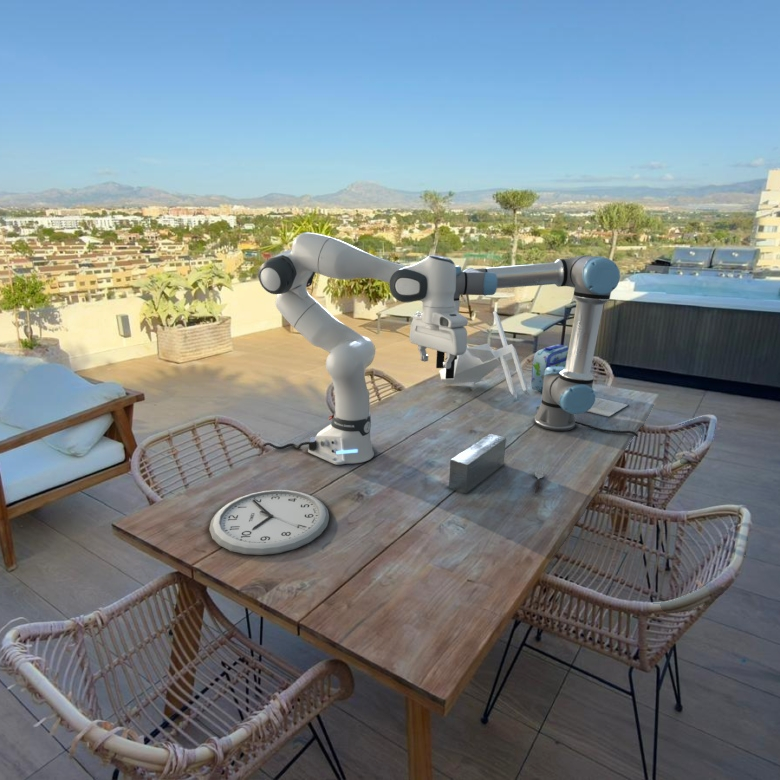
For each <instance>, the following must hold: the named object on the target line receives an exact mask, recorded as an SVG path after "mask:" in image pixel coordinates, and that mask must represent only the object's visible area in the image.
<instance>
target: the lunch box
mask: <svg viewBox="0 0 780 780" xmlns="http://www.w3.org/2000/svg"><path fill="white" fill-rule="evenodd" d="M568 349H569V345H565V344H554V345H550V346H547V347H544V348H542V349H541V348H540V349H539V350H537V351H536V352H535V353H534V356H533V360H532V367H531V368H532V369H531V382H530V383H531V386H530V387H531V389H532V390H533V391H537V392H542V391H543V382H544V374H545V369H546V368H548V367H565V366H566V360H567V354H568Z"/></svg>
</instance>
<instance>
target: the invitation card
mask: <svg viewBox="0 0 780 780" xmlns="http://www.w3.org/2000/svg"><path fill="white" fill-rule="evenodd" d="M628 406H629V404H627V403H623V402H618V401H614V400H609V399H605V398H601V397H596V396H595V402H594V404H593V406H592V407H591V408H590V409H589V410H587V411H586V412H587V413H593V414H596V415H600V416H604V417H608V418H609V417H611V416H613V415H614V414H616V413H617V412H619V411H621V410H623V409H624V408H626V407H628Z"/></svg>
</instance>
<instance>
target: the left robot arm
mask: <svg viewBox="0 0 780 780" xmlns="http://www.w3.org/2000/svg"><path fill="white" fill-rule="evenodd" d="M455 266H456V263H455V262H454V261H453V260H452V259H451V258H449V257H445V256H442V255H435V254H431V255H428V256H426V257H425V258H424V259H422V260H420V261H418V262H417V263H414V264H412V265H407V264H402V263H398V262H395V261H392V260H388V259H385V258H382V257H379V256H375V255H373V254H371V253H368V252H366V251H364V250H362V249H360V248H358V247H356V246H354V245H352V244H349V243H347V242H345V241H343V240H340V239H338V238H335V237H331V236H328V235H324V234H321V233H320V234H319V233H315V232H302V233H299V234H298V235H297V236H296V237H295V238H294V240H293V242H292V246H291V249H288V250H285V251H282V252H280V253H278V254H277V255H275V256H273V257H271V258H268V259H267V260H265V261H264V262H263V263H262V264H261V266H259V269H258V273H257V274H258V276H257V277H258V281H259V283H260V285H261V287H262V289H264V290H265V291H266V292H267V293H269V294H272V295H277V296H276V297H275V307H276V309H277V310H278V312H279V313H280V314H281V315H282V317H283V318H284V319H285V320H286V322H288V323H289V325H291V327H293V328H294V330H295V331H297V332H298V333H299V334H300V335H301V336H302V337H303V338H305V340H307V342H308V343H310V345H313V346H314V347H316V348H320V349H322V350H324V351H326V352H327V353H329V354H328V355H327V357H326V360H325V368H326V371H327V373H328V375H329V376H330V378H331V381H332V386H333V390H334V409H335V411H334V413H332V415H330V416H329V417H328V421H330V420H331V422H330V423H329V424H328V425H327V426H325V427H324V428H323V429H321V430H320V431H318V432H317V434H316V436H310V438H309V440H308V441H304V442H303V441H302V442H300V443H299V444H298V445H297V444H295V443H287V444H285V445H282V446H278V445H275V444H273V443H271V442H265V443H263V444H262V447H266V446H269V447H272V448H273V449H275V450H284V449H286V448H289V447H293V448H295V449H296V450H299V449H301V447H302V446H306V445H308V449H307V453H309V454H311V455H313V456H315V457H318V458H319V459H322V460H324V461H326V462H329V463H331V464H333V465H335V466H341V465H345V464H348V465H349V464H361V463H365V462H367V461H370V460H371V459H372V458H373V457H374V456H375V452H374V449H373V445H372V440H371V427H372V426H371V425H372V424H371V423H372V422H371V421H372V419H371V413H370V389H368V387H367V382H366V376H365V375H366V369H367V368H368V367H369V366H371V364H373V361H374V359H375V356H376V346H375V344H374V343H375V342H373V341H372V340H371V339H370V338H369V337H367V336H364V335H362V334H360V333H359V332H358V331H355V330H354V329H352V328H351V327H349V326H347V325H346V324H344V323H343V322H341V320H339V319H338V318H336V317H335V316H334V315H333V314H331V312H329V311H328V310H327V309H326V308H325V307H324V306H323V305H322V304H320V302H319V301H317V300H316V299H315V298H314V297H313V296H312V295H310V293H309V292H308V288H309V287H311V286H312V284H313V281H314V277H315V276H316V274H319V275H322V276H324V277H326V278H330V279H335V280H343V281H344V280H346V281H347V280H355V279H374V280H378V281H381V282H383V283H388V284H389V285H388V286H389V291H390V294H391V296H392V297H393V298H394V299H396V301H399V302H400V303H412V302H417V301H419V302H422V312H421V311H417V312H415V313H414V314H413V315H412V321H411V323H410V329H409V330H410V331H409V341H410V343H411V344H413V345H416V346H417V350H418V351H419V352H418V353H419V355H420V361H421V362H428V361H429V357H430V356H429V354H428V353H427V349H431V350H434V351H437V350H438V351H441V352H445V359H446V358H447V359H446V360H444V362H443V368H442V369H444V368H446V369H449V368H451V362H452V361H453V359H454V357H455V356H457V355H463V354H464V353H465V352H466V349H467V345H468V331H467V328H466V327H467V326H468V324H469V323H468V318H467V317H465V316H464V315H462V314H461V313H460V312H457V311H456V310H454V308H455V304H454V294H455V291H456V268H455Z"/></svg>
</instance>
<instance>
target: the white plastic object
mask: <svg viewBox="0 0 780 780" xmlns="http://www.w3.org/2000/svg"><path fill="white" fill-rule="evenodd" d="M492 315H493V319H494V321H495V324H496V325H495V326H496V328H497V332H498V335H499V338H500V342H501V345H502V347H500V348H498V349H496V350H495V349H493V348H492V347H491V346H490V344H489V343H488V342H487V343H483V344H479V345H473V346H469V345H468V344H467V349H466V352H465V353H464V354H463V355H457V359H455V365H454V379H446V378H445V376H446V368H440V370H439V371H438V372H439V376H440V381H442V383H443V384H444V385H445V386H449V385H458V384H467V383H468V384H469V383H473V384H477V383H480V382H482V381H484V378H485V377H486V376H487V375H489V374H490V373H492V372H494V371H495V370H496V369H497V368H499V367H500V366H502V370H503V373H504V376H505V380H506V383H507V386H508V390H509V393H510V394H511V395H512V397H513V398H514V399H515V400H517V392H516V391H517V390H516V388H515V385H514V381H513V378H512V375H511V371H510V369H509V365H508V361H510V360H513V363H514V366H515V369H516V372H517V376H518V380H519V382H520V385H521V389H522V391H523V393H524V395H525V396H526V397H528V396H531V395H530V390H529V388H528V387H529V386H528V384H527V381H526V378H525V375H524V371H523V369H522V368H523V367H522V366H521V362H520V359H519V355H518V352H517V349H516V347H515V346H514V345H513V343H511V344H508V341H507V337H506V334H505V331H504V328H503V325H502V321H501V318H500V315H499V314H498V312H497V311H496V310H495V311H492Z"/></svg>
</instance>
